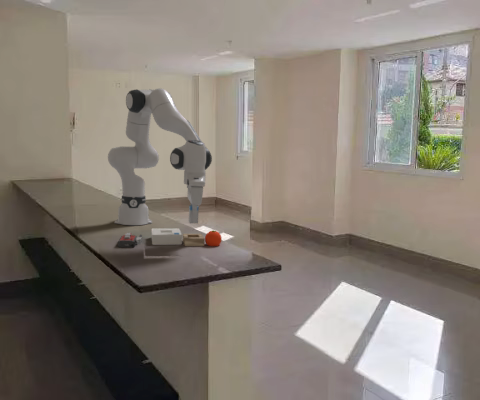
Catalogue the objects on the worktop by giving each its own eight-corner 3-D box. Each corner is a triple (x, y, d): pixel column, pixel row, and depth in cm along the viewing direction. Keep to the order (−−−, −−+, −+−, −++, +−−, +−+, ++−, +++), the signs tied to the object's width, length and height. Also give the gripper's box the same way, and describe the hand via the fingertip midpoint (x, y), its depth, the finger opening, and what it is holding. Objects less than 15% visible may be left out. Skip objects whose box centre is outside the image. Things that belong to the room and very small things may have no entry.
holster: (182, 242, 210) (182, 233, 210) (201, 242, 212) (201, 233, 212) (184, 248, 201) (185, 238, 200) (204, 248, 202) (204, 238, 202)
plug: (188, 221, 207) (189, 205, 206) (197, 221, 208) (197, 205, 207) (189, 223, 203) (190, 206, 202) (198, 223, 204) (198, 206, 203)
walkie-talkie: (139, 249, 198) (143, 238, 218) (139, 238, 198) (143, 228, 218) (117, 248, 198) (123, 238, 217) (117, 238, 197) (123, 228, 217)
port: (151, 239, 215) (151, 227, 214) (178, 239, 217) (179, 227, 216) (152, 247, 201) (152, 234, 200) (181, 246, 203) (181, 234, 203)
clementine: (205, 244, 209) (206, 228, 208) (222, 245, 209) (222, 228, 208) (203, 248, 201) (204, 231, 200) (220, 249, 201) (221, 232, 200)
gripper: (184, 177, 212) (183, 208, 214) (189, 182, 193) (188, 217, 195) (199, 177, 214) (198, 208, 216) (205, 182, 194) (204, 217, 196)
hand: (193, 212), depth 205 cm, fingers closed on plug, 3 cm apart
